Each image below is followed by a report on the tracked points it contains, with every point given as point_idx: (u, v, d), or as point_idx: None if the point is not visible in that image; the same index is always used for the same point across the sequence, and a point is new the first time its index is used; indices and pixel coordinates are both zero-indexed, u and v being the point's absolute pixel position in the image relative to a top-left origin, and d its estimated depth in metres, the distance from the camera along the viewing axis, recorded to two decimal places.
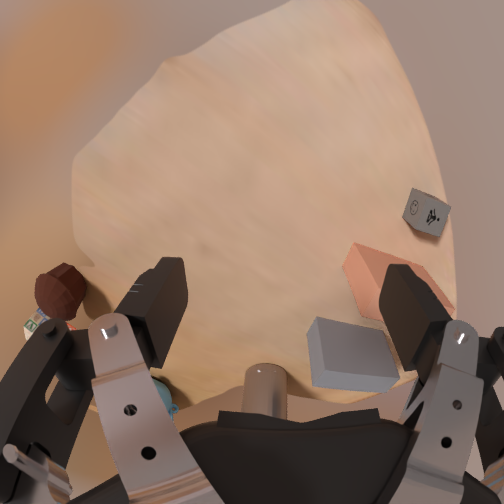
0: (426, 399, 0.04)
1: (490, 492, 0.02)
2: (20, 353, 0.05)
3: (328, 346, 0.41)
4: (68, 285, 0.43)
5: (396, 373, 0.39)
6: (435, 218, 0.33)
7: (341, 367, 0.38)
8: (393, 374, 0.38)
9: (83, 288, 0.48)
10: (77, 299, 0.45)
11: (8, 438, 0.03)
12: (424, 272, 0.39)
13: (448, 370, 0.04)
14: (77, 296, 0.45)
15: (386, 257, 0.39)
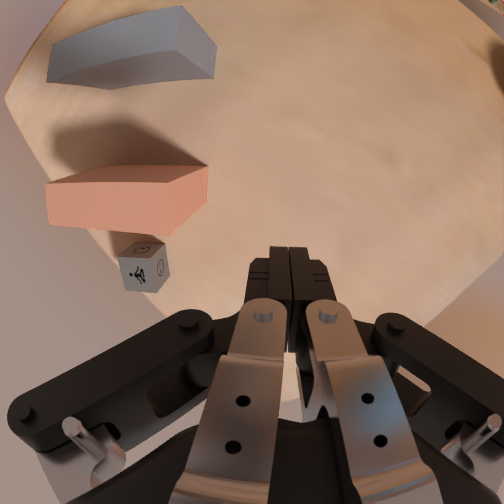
0: (327, 405, 0.04)
1: (490, 492, 0.02)
2: (142, 333, 0.06)
3: (182, 65, 0.21)
4: None
5: (55, 81, 0.18)
6: (134, 274, 0.34)
7: (145, 57, 0.17)
8: (58, 79, 0.18)
9: None
10: None
11: (77, 412, 0.04)
12: None
13: (336, 367, 0.05)
14: None
15: None
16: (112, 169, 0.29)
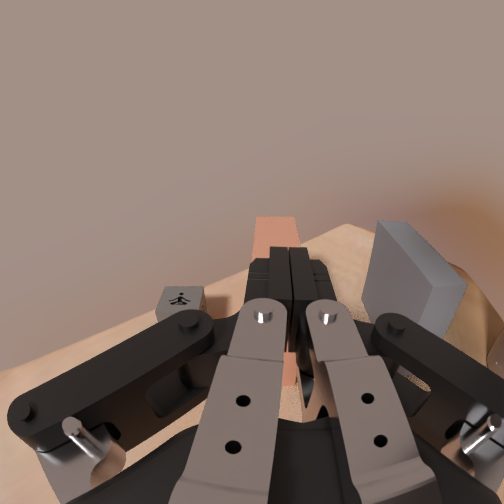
0: (327, 405, 0.04)
1: (490, 492, 0.02)
2: (142, 333, 0.06)
3: None
4: None
5: (377, 229, 0.33)
6: (181, 297, 0.32)
7: (415, 277, 0.22)
8: (380, 229, 0.32)
9: None
10: None
11: (77, 412, 0.04)
12: None
13: (336, 367, 0.05)
14: None
15: None
16: None
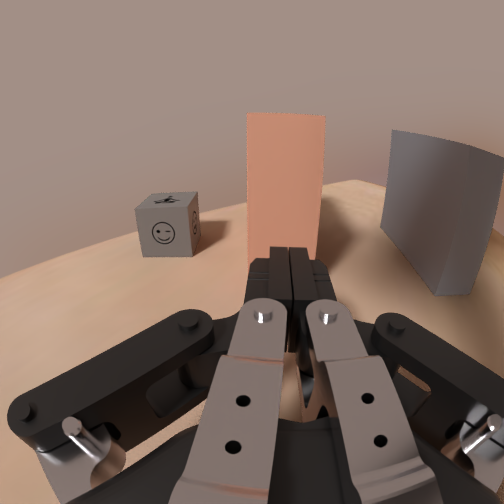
0: (327, 405, 0.04)
1: (490, 492, 0.02)
2: (142, 333, 0.06)
3: (450, 208, 0.17)
4: None
5: (392, 138, 0.27)
6: (169, 199, 0.26)
7: (446, 152, 0.16)
8: (395, 136, 0.26)
9: None
10: None
11: (77, 412, 0.04)
12: None
13: (336, 367, 0.05)
14: None
15: None
16: None
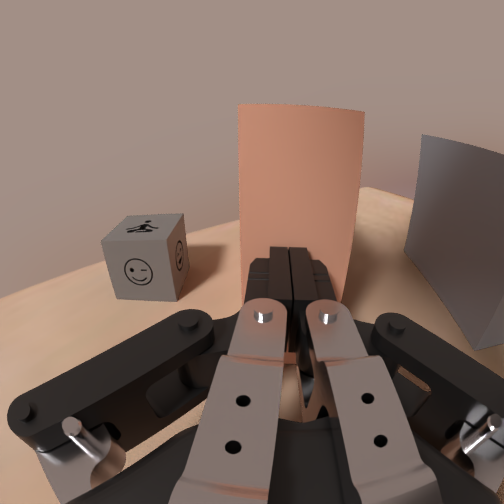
0: (327, 405, 0.04)
1: (490, 492, 0.02)
2: (142, 333, 0.06)
3: None
4: None
5: (422, 145, 0.21)
6: (146, 225, 0.20)
7: (502, 171, 0.10)
8: (427, 142, 0.20)
9: None
10: None
11: (77, 412, 0.04)
12: None
13: (336, 367, 0.05)
14: None
15: None
16: None
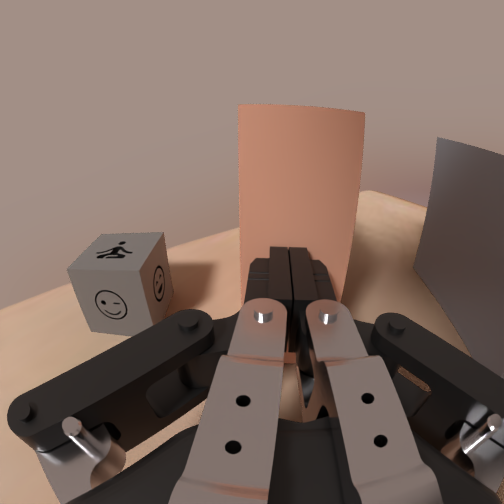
0: (327, 405, 0.04)
1: (490, 492, 0.02)
2: (142, 333, 0.06)
3: None
4: None
5: (438, 150, 0.17)
6: (120, 248, 0.16)
7: None
8: (444, 147, 0.16)
9: None
10: None
11: (78, 413, 0.04)
12: None
13: (336, 367, 0.05)
14: None
15: None
16: None
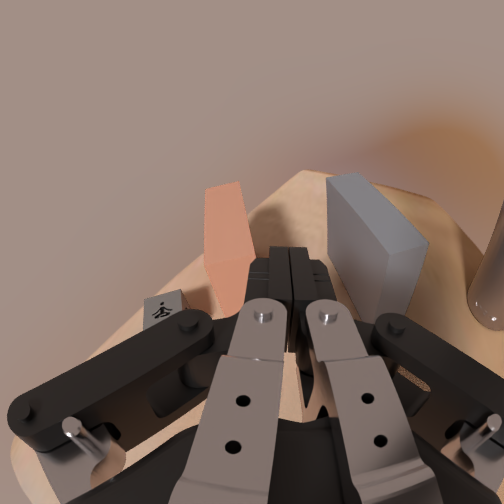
0: (327, 405, 0.04)
1: (490, 492, 0.02)
2: (142, 333, 0.06)
3: (374, 286, 0.25)
4: None
5: (327, 186, 0.32)
6: (162, 307, 0.31)
7: (371, 242, 0.23)
8: (330, 187, 0.31)
9: None
10: None
11: (77, 412, 0.04)
12: None
13: (336, 367, 0.05)
14: None
15: None
16: None
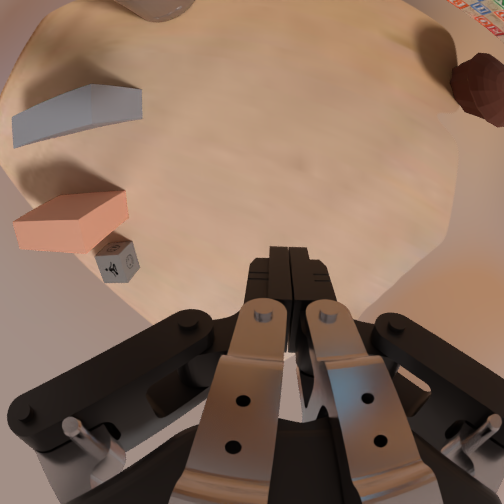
0: (328, 405, 0.04)
1: (490, 492, 0.02)
2: (142, 333, 0.06)
3: (108, 122, 0.27)
4: (474, 105, 0.23)
5: (20, 146, 0.24)
6: (109, 269, 0.39)
7: (76, 128, 0.23)
8: (22, 145, 0.24)
9: (454, 84, 0.25)
10: (464, 81, 0.22)
11: (77, 412, 0.04)
12: None
13: (336, 367, 0.05)
14: (464, 84, 0.23)
15: None
16: (59, 201, 0.35)
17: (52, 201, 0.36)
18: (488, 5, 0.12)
